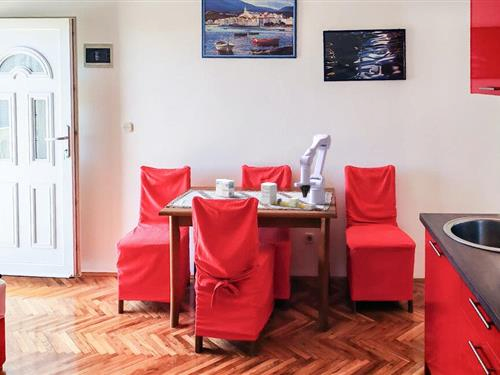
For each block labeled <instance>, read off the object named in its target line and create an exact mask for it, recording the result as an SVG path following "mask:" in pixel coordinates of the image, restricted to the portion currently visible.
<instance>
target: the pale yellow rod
mask: <svg viewBox="0 0 500 375" xmlns="http://www.w3.org/2000/svg"><path fill="white" fill-rule="evenodd" d="M282 200H283V199H282V198H280V197H279V198H278V199H277V201H274V204H273V205H275V206H276V205H277V206H285V207H290V206H289V204H290V201H289V202H288V201H282ZM306 204H307V203H296V207H295V208H300V209H301V208H302V209H305V205H306Z"/></svg>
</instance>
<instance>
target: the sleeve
mask: <svg viewBox="0 0 500 375" xmlns="http://www.w3.org/2000/svg"><path fill="white" fill-rule="evenodd" d="M289 202H290V204H289V206H288V207H291V208H297V207H296V203H299V202H300V198H299V197H291V198H289ZM299 204H300V203H299Z"/></svg>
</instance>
